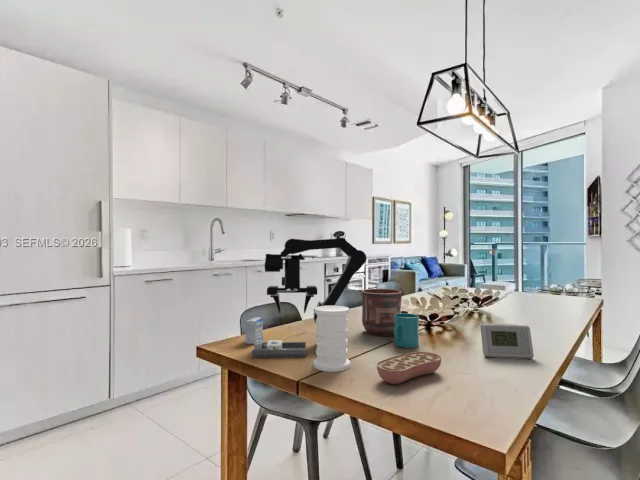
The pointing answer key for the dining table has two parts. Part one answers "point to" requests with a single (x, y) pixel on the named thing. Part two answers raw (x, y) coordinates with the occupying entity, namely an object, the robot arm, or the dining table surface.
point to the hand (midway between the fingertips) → (292, 313)
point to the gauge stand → (279, 350)
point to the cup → (406, 330)
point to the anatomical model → (408, 366)
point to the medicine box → (253, 330)
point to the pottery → (380, 310)
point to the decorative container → (331, 338)
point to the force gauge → (273, 344)
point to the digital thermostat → (506, 341)
